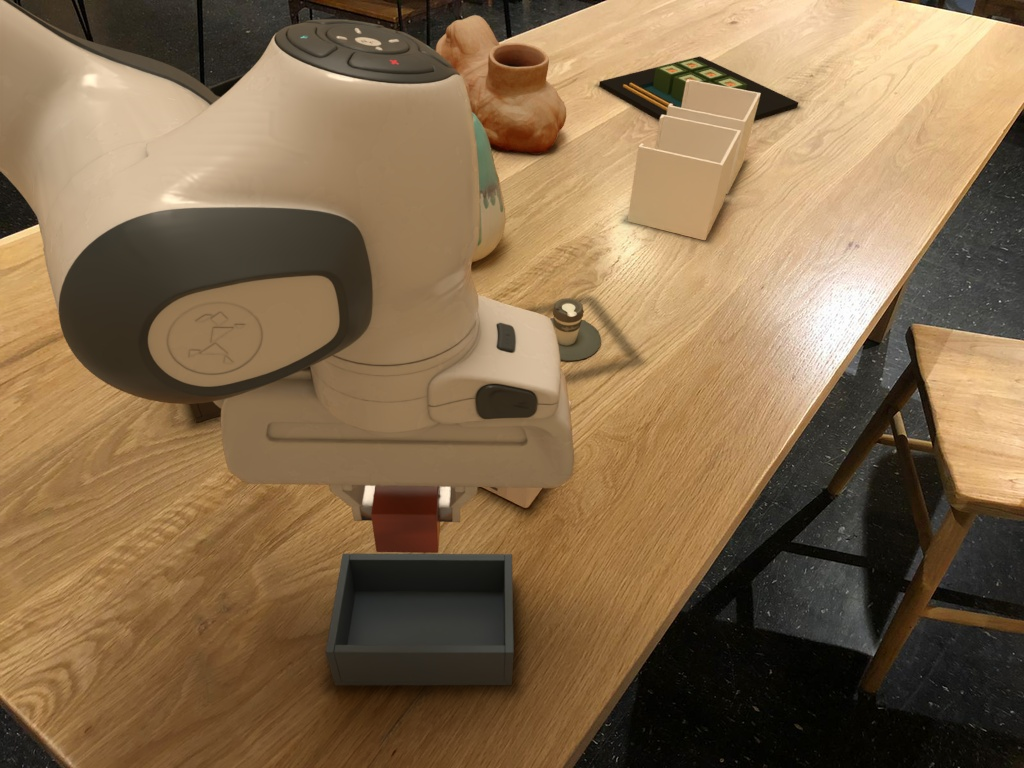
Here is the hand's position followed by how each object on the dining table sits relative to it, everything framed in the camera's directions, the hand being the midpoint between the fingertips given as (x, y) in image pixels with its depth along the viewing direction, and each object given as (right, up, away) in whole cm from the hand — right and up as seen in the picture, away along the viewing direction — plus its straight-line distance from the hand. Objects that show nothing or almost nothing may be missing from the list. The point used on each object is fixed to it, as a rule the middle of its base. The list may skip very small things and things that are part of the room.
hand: (409, 513), depth 50 cm
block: (0, -1, +1) cm, 2 cm away
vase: (0, +26, +50) cm, 57 cm away
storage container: (+33, +37, +63) cm, 80 cm away
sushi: (+40, +60, +88) cm, 114 cm away
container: (+7, 0, +23) cm, 24 cm away
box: (0, -11, +10) cm, 15 cm away
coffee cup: (+13, +13, +37) cm, 42 cm away
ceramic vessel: (+4, +51, +77) cm, 93 cm away
